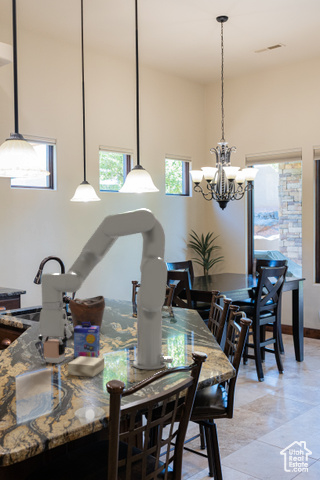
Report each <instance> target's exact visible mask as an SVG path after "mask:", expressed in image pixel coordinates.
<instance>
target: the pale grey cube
mask: <svg viewBox="0 0 320 480" xmlns="http://www.w3.org/2000/svg"><path fill="white" fill-rule="evenodd" d="M65 359H66V351H65V352H64V354H63V355H62V356H60V357H58V358H49V357H45V362H46V363H53V364H60V363H61V362H63V361H65Z"/></svg>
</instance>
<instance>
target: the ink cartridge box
mask: <svg viewBox="0 0 320 480" xmlns="http://www.w3.org/2000/svg"><path fill="white" fill-rule="evenodd" d="M85 323H87V324H89V325H84V324H85ZM100 340H101V339H100V331H99V326H91V324H90V322H82V326H76V327H75V328H74V327H73V358H78V357H80V356H82V357H95V358H99V357H100V354H101V352H100V351H101V350H100V348H101V347H100V346H101V345H100Z"/></svg>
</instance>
